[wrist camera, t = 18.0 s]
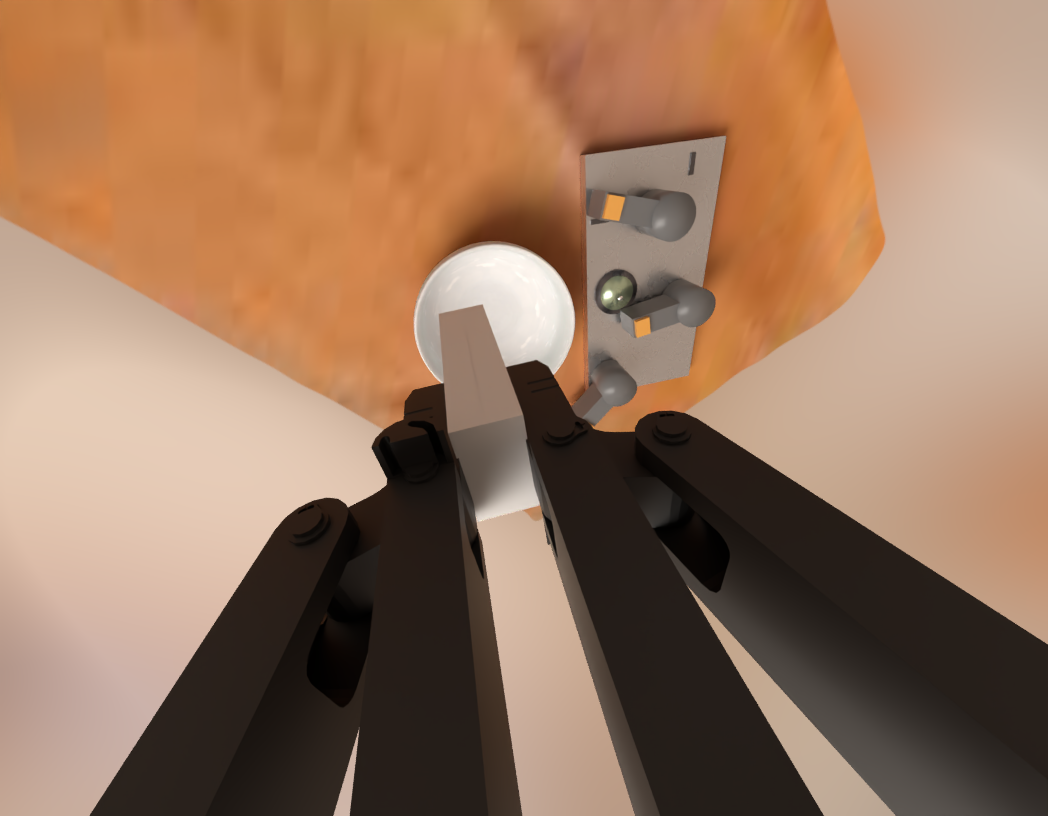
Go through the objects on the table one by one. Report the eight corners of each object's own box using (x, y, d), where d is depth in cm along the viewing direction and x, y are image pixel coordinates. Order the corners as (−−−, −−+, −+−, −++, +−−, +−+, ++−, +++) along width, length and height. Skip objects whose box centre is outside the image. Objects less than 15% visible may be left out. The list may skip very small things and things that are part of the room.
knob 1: (607, 354, 49) (621, 369, 46) (628, 370, 51) (643, 386, 48) (558, 409, 52) (568, 427, 49) (580, 422, 55) (591, 440, 51)
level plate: (579, 155, 38) (587, 155, 36) (716, 136, 40) (730, 135, 38) (584, 391, 54) (590, 399, 52) (682, 370, 56) (691, 377, 54)
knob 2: (678, 192, 40) (703, 195, 37) (664, 237, 43) (686, 244, 39) (593, 177, 38) (611, 179, 34) (583, 225, 40) (598, 232, 37)
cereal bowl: (579, 329, 49) (599, 352, 43) (470, 396, 51) (476, 427, 45) (513, 198, 39) (529, 205, 33) (382, 287, 41) (375, 308, 35)
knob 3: (693, 274, 46) (716, 284, 42) (693, 308, 48) (714, 320, 45) (617, 300, 46) (633, 312, 42) (621, 333, 48) (636, 347, 44)
